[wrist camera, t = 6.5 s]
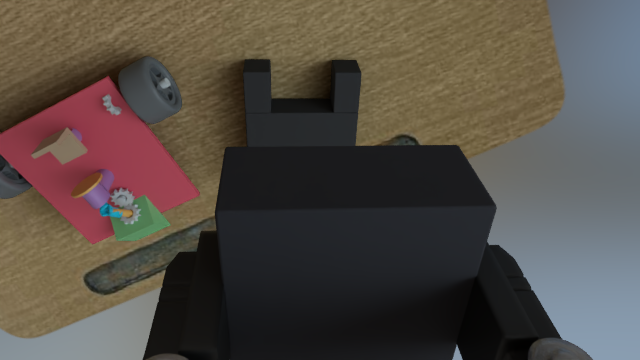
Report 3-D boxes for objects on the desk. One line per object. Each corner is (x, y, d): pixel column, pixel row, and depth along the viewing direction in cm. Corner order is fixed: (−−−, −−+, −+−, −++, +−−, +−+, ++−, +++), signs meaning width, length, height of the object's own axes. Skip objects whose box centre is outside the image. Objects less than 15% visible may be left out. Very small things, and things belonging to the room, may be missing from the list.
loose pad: (409, 366, 16) (429, 440, 14) (243, 374, 16) (239, 452, 14) (458, 143, 12) (498, 206, 10) (225, 145, 11) (214, 212, 9)
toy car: (154, 41, 34) (129, 79, 28) (243, 170, 40) (237, 221, 34) (-16, 132, 36) (-69, 183, 31) (92, 239, 43) (65, 297, 37)
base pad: (348, 165, 41) (352, 182, 38) (250, 166, 40) (249, 184, 38) (356, 59, 36) (361, 72, 33) (244, 59, 35) (242, 72, 33)
